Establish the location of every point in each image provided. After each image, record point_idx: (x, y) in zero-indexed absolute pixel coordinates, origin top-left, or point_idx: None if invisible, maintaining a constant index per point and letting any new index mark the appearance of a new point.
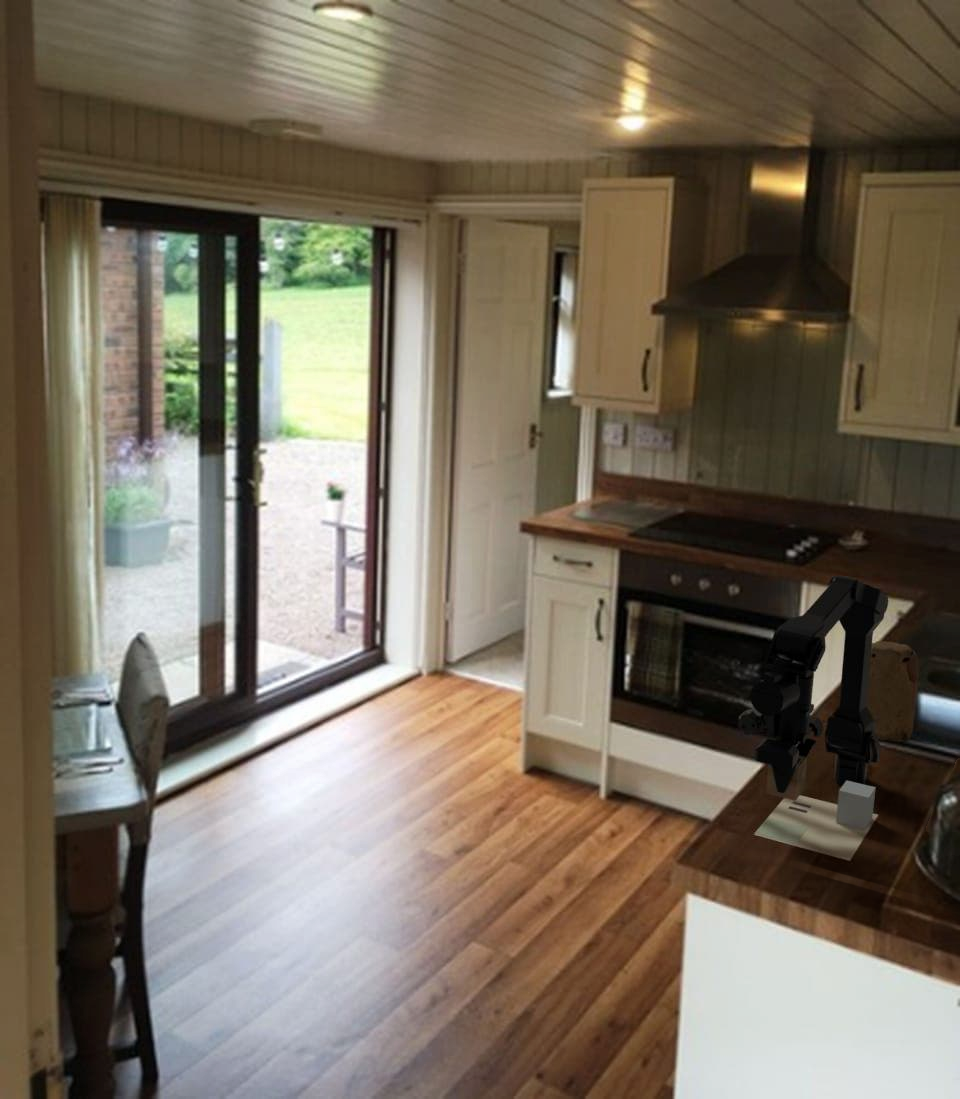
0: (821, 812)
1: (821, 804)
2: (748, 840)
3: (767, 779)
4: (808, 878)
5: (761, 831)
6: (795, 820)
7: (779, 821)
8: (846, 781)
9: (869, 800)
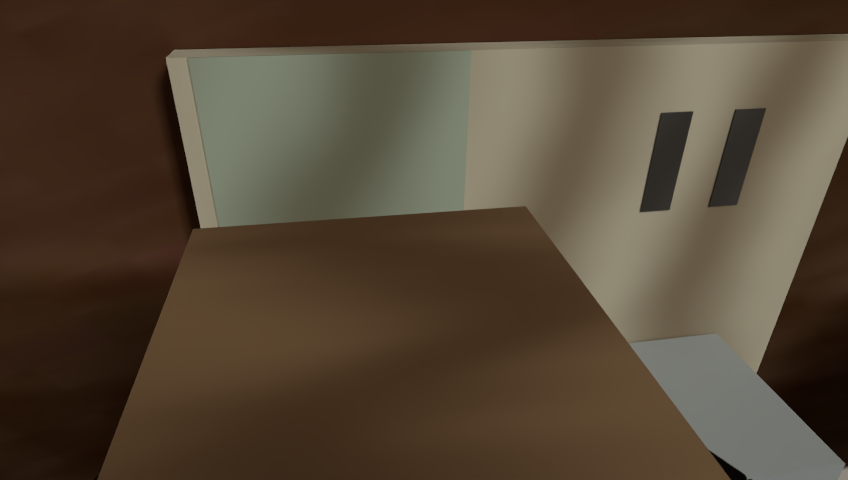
0: (677, 265)
1: (768, 236)
2: (145, 23)
3: (149, 345)
4: (3, 415)
5: (244, 89)
6: (521, 199)
7: (458, 132)
8: (830, 467)
9: None
